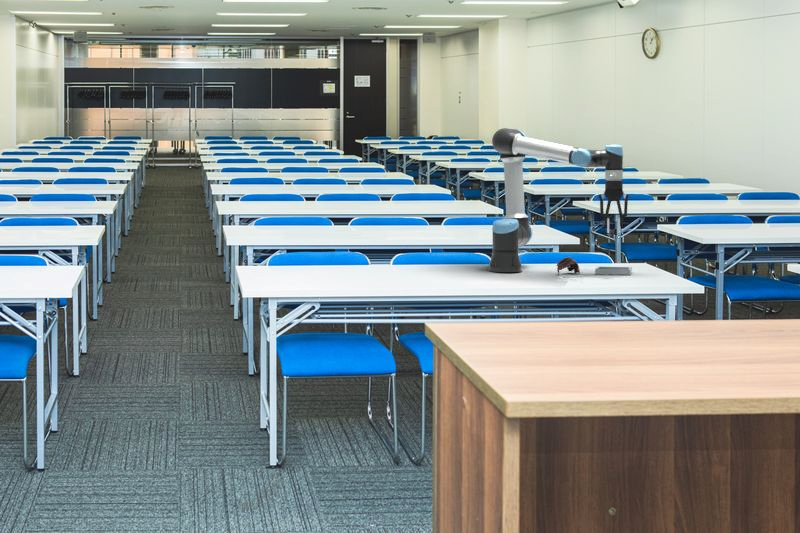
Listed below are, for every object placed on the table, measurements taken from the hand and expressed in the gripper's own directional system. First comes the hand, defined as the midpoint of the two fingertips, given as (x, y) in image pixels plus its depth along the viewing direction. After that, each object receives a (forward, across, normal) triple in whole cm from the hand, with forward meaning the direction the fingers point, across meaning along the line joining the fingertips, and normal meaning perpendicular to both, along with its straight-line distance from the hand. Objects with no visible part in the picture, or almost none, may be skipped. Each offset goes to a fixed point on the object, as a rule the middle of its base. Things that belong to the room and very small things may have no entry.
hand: (613, 233), depth 476 cm
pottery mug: (+19, -18, -3) cm, 26 cm away
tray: (+18, 0, 0) cm, 18 cm away
